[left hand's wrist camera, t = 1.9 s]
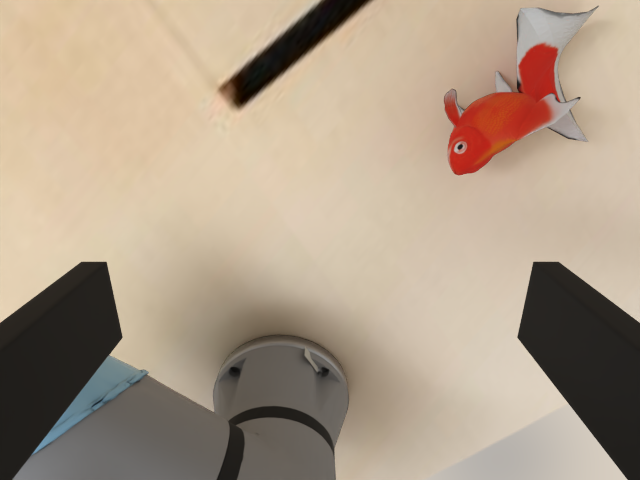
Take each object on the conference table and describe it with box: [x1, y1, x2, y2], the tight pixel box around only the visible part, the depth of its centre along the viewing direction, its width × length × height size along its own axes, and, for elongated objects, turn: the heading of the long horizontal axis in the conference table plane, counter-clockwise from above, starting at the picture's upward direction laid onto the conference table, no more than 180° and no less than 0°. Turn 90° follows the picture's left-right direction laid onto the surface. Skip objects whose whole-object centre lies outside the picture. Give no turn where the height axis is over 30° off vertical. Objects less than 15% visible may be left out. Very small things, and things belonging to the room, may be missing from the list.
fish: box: [444, 6, 599, 175], centre depth 31 cm, size 11×16×10 cm
